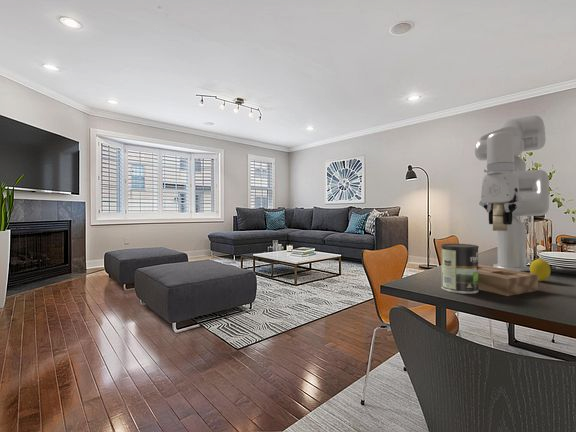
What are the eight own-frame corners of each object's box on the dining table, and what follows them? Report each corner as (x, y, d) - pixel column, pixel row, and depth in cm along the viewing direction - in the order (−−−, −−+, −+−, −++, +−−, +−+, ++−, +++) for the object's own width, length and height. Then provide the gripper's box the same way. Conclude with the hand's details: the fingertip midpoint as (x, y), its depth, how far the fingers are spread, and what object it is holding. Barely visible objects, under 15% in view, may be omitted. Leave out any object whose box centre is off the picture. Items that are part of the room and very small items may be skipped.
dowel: (498, 230, 104) (498, 201, 104) (510, 230, 100) (510, 200, 100) (489, 230, 102) (489, 201, 102) (502, 230, 98) (502, 200, 98)
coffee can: (482, 289, 95) (482, 244, 95) (474, 296, 88) (473, 247, 88) (446, 284, 102) (446, 242, 102) (436, 290, 95) (436, 245, 95)
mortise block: (470, 276, 113) (470, 260, 113) (537, 290, 92) (537, 271, 92) (443, 280, 108) (443, 263, 108) (507, 296, 87) (507, 275, 87)
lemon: (554, 283, 101) (554, 259, 101) (535, 282, 102) (535, 259, 102) (544, 279, 106) (544, 257, 106) (526, 279, 107) (526, 256, 107)
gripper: (469, 172, 108) (469, 223, 107) (519, 164, 92) (519, 224, 92) (483, 173, 110) (483, 223, 110) (535, 166, 95) (535, 224, 95)
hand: (500, 223), depth 101 cm, fingers closed on dowel, 4 cm apart
